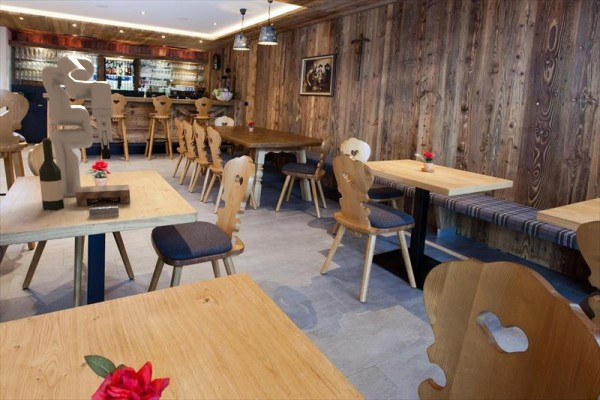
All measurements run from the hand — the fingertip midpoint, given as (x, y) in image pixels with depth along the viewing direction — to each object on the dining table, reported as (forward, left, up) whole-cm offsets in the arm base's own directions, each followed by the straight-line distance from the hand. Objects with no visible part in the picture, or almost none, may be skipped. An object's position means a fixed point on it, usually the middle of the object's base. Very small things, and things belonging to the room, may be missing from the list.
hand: (106, 158), depth 181 cm
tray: (-2, +2, -24) cm, 24 cm away
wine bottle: (-22, +14, -23) cm, 35 cm away
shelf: (-2, +20, -23) cm, 30 cm away
